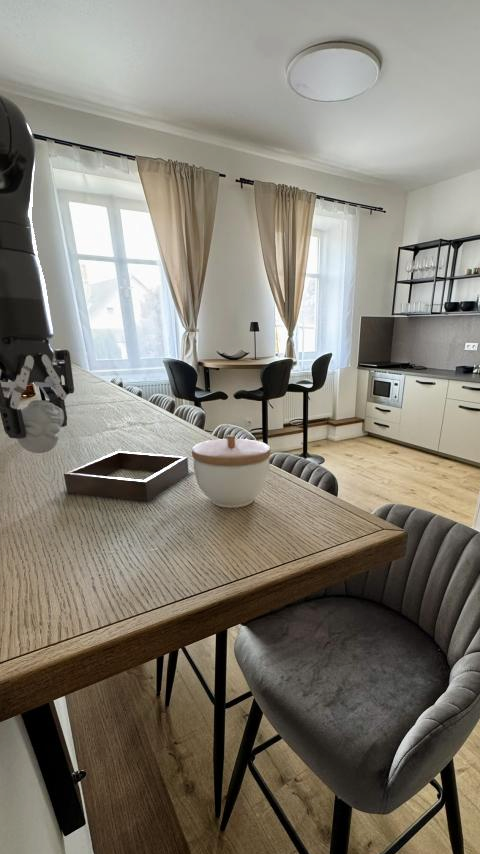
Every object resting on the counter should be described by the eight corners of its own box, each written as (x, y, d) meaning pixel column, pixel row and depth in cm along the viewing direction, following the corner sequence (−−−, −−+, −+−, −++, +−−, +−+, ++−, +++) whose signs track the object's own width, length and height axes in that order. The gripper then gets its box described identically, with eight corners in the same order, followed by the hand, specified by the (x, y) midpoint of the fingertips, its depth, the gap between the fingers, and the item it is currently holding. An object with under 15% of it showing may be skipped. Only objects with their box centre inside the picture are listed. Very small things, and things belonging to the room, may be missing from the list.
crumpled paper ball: (79, 450, 58) (71, 400, 56) (29, 461, 53) (17, 406, 50) (55, 444, 61) (46, 396, 59) (5, 454, 56) (-8, 401, 53)
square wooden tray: (66, 492, 71) (63, 473, 70) (119, 467, 86) (117, 451, 84) (147, 501, 68) (145, 482, 67) (188, 474, 82) (187, 457, 81)
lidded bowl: (180, 508, 66) (175, 440, 62) (215, 483, 77) (212, 425, 73) (254, 519, 62) (254, 448, 58) (279, 491, 74) (280, 430, 70)
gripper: (32, 301, 57) (54, 420, 63) (-73, 290, 44) (-32, 442, 50) (79, 301, 56) (97, 423, 62) (-15, 290, 43) (20, 446, 49)
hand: (39, 431), depth 56 cm, fingers closed on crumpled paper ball, 7 cm apart
